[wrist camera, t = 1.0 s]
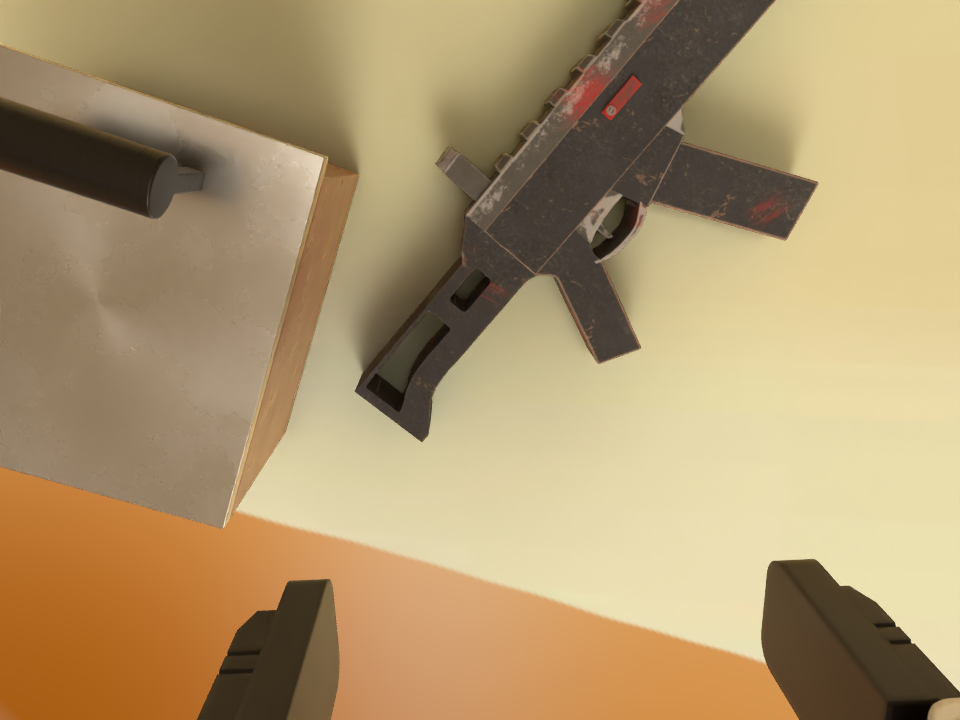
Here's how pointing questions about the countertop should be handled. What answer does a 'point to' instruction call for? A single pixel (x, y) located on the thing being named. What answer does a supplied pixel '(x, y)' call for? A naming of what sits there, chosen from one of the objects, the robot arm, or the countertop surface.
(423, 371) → the toy gun
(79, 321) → the lid
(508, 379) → the countertop surface
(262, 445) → the open wooden cubby
